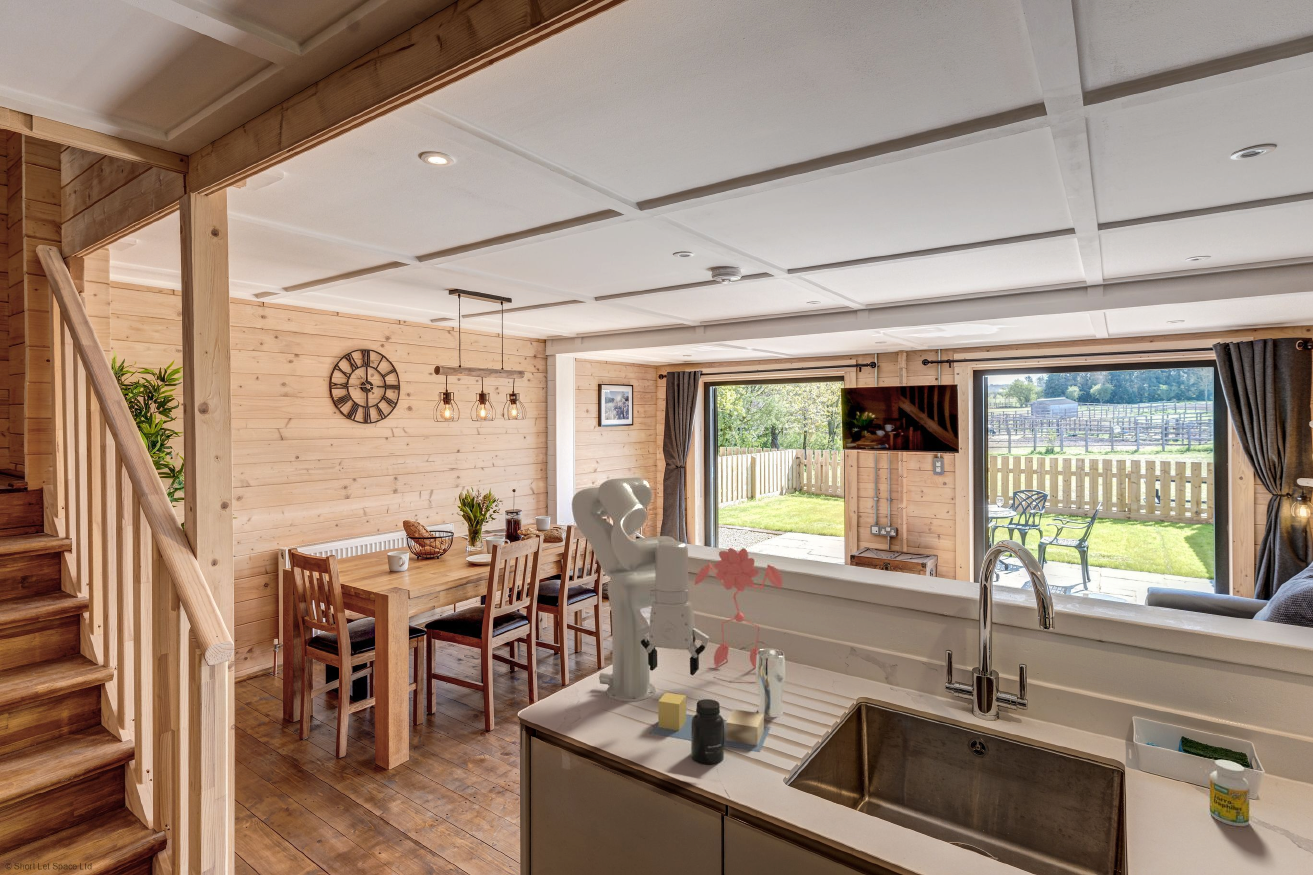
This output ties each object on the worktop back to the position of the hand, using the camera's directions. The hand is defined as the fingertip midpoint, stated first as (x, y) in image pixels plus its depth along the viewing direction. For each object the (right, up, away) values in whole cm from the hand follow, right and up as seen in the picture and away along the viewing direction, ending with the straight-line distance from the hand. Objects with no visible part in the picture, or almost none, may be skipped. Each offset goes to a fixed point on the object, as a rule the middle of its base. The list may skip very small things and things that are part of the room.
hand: (673, 670), depth 155 cm
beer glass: (+23, -13, +7) cm, 28 cm away
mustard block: (0, -13, +1) cm, 13 cm away
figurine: (+18, -12, +34) cm, 41 cm away
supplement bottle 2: (+97, -14, -35) cm, 104 cm away
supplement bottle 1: (+7, -14, -14) cm, 21 cm away
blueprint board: (+8, -13, -2) cm, 16 cm away
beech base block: (+16, -13, -5) cm, 21 cm away
